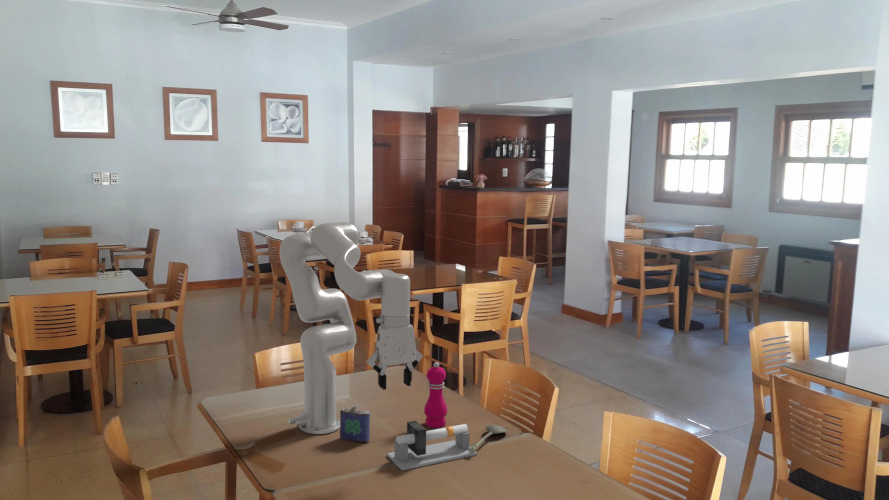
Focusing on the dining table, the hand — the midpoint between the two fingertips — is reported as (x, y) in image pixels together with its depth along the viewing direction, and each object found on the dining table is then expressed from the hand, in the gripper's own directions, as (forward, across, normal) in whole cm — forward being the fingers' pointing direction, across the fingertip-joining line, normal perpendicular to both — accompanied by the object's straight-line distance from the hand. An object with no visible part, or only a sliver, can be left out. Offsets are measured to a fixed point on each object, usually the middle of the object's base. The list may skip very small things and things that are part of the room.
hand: (395, 385), depth 180 cm
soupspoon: (+21, +29, +1) cm, 36 cm away
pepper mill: (+22, +22, +20) cm, 37 cm away
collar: (+19, +7, 0) cm, 20 cm away
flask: (+22, -4, +19) cm, 29 cm away
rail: (+22, +12, 0) cm, 24 cm away
